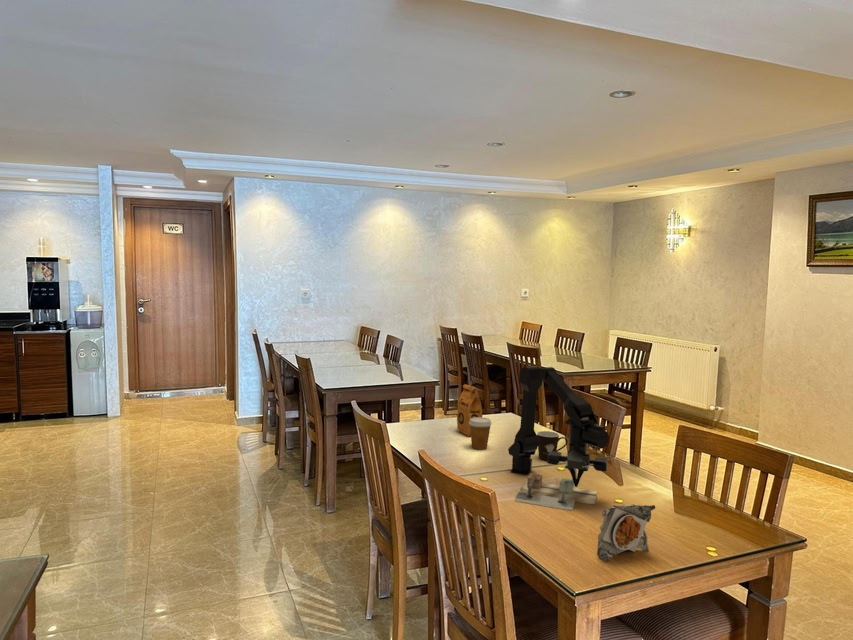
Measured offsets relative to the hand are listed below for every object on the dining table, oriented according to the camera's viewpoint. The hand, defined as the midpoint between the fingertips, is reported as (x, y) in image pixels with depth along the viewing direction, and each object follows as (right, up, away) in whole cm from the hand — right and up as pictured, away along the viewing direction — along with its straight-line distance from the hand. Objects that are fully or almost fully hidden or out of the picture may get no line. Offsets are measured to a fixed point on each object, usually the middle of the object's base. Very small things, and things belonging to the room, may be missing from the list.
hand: (576, 486), depth 185 cm
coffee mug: (0, -1, +39) cm, 39 cm away
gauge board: (-6, -3, 0) cm, 7 cm away
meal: (+3, -7, -38) cm, 39 cm away
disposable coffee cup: (-27, +1, +51) cm, 58 cm away
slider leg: (-4, -2, -2) cm, 5 cm away
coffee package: (-30, +2, +72) cm, 78 cm away
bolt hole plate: (-11, -4, -5) cm, 13 cm away
